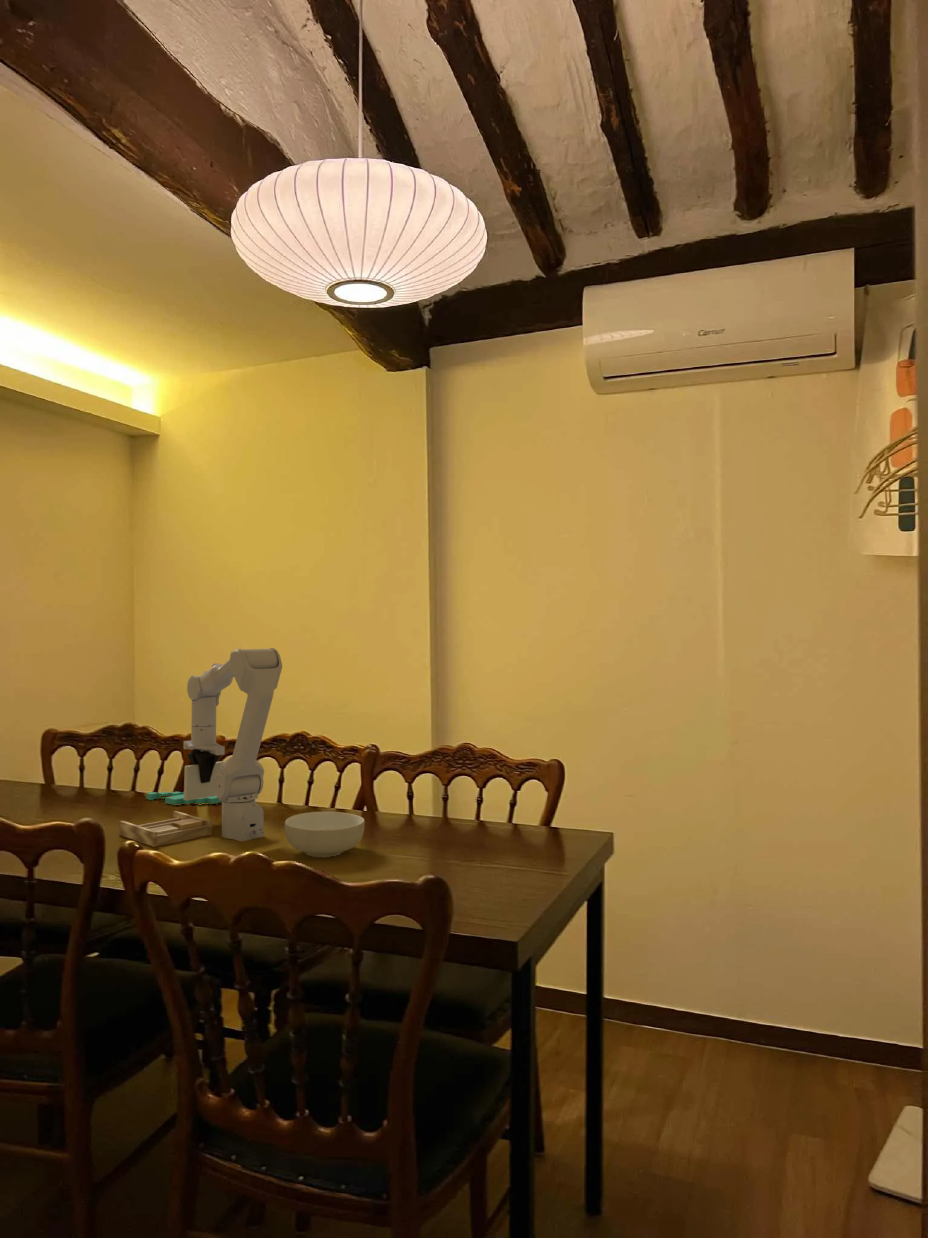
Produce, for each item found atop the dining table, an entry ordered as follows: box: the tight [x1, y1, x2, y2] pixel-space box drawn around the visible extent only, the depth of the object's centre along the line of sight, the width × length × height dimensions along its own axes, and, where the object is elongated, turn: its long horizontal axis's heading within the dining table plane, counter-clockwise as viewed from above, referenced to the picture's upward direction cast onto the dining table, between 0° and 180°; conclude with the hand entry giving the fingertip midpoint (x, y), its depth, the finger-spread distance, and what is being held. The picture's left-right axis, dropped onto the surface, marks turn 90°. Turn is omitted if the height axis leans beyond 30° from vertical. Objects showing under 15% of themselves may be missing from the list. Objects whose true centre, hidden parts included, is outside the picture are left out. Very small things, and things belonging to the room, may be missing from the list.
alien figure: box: [145, 791, 222, 805], centre depth 233 cm, size 20×2×20 cm
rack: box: [118, 810, 213, 848], centre depth 189 cm, size 15×14×4 cm
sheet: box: [183, 760, 225, 800], centre depth 203 cm, size 1×10×8 cm, turn 140°
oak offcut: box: [172, 818, 202, 831], centre depth 189 cm, size 4×5×3 cm
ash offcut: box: [150, 825, 178, 835], centre depth 185 cm, size 4×5×2 cm
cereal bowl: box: [284, 811, 366, 858], centre depth 179 cm, size 17×17×7 cm
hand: (203, 782), depth 202 cm, fingers closed on sheet
